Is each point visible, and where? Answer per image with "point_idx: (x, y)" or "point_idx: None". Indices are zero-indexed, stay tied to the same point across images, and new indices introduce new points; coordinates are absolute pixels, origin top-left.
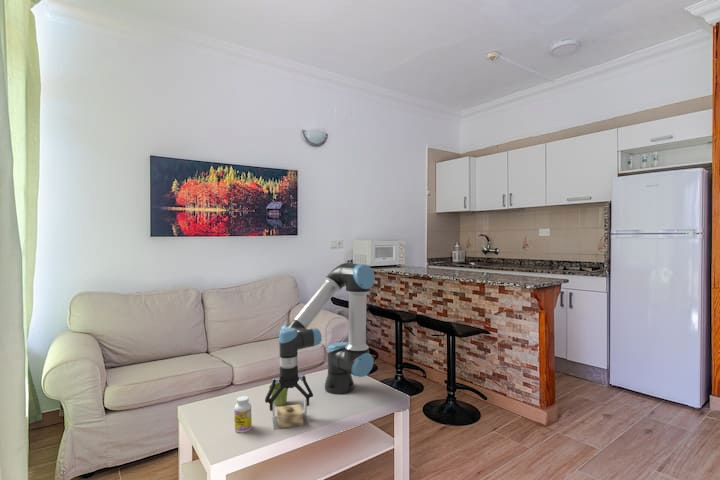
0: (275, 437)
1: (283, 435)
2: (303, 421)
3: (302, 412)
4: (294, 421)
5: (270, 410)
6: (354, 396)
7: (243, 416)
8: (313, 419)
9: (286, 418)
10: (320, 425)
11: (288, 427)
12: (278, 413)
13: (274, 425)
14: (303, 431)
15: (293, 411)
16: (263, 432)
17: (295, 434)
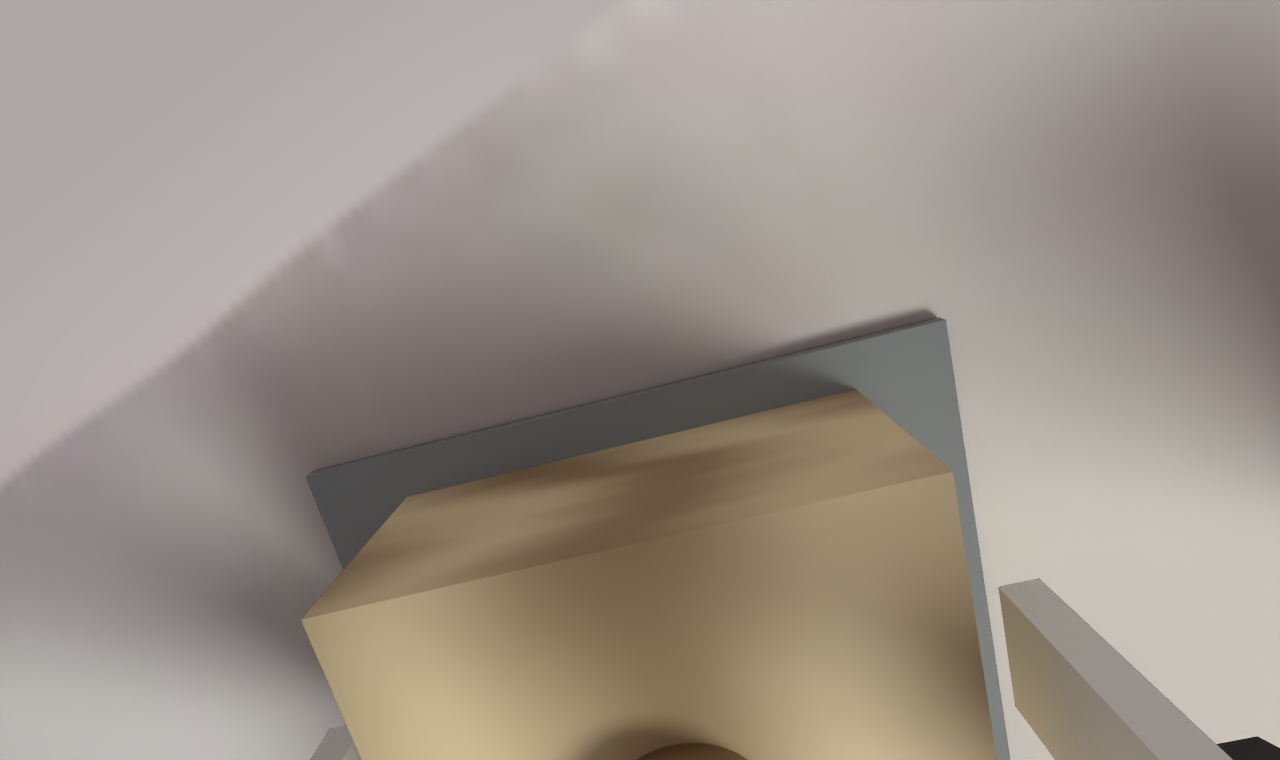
0: (879, 35)
1: (723, 115)
2: None
3: (333, 691)
4: (547, 494)
5: (1263, 749)
6: None
7: None
8: (277, 679)
9: (723, 492)
10: (92, 469)
11: (667, 402)
12: (968, 675)
13: None
14: (353, 260)
15: (581, 751)
16: (1140, 261)
17: (486, 145)
